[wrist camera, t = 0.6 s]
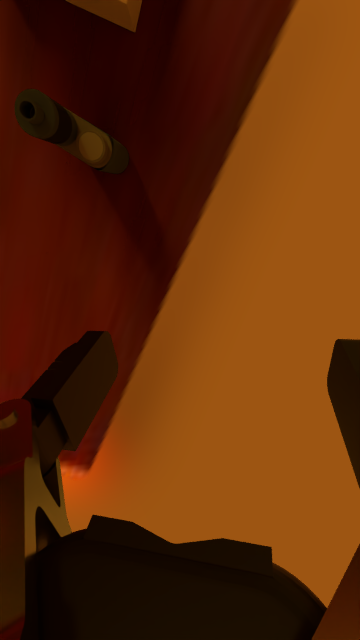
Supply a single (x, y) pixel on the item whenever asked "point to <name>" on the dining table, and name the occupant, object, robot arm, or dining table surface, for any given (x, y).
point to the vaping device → (69, 132)
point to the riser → (113, 10)
